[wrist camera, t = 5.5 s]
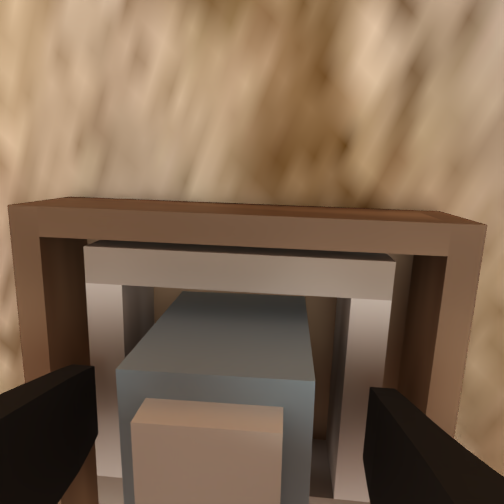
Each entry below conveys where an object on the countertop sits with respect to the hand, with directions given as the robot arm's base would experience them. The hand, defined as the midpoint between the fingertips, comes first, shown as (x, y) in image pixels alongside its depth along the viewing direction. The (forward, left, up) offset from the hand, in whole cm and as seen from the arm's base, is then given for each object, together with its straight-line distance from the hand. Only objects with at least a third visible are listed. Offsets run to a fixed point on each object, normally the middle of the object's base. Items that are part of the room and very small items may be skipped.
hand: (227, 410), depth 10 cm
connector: (0, 0, -3) cm, 3 cm away
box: (-3, 0, -4) cm, 5 cm away
